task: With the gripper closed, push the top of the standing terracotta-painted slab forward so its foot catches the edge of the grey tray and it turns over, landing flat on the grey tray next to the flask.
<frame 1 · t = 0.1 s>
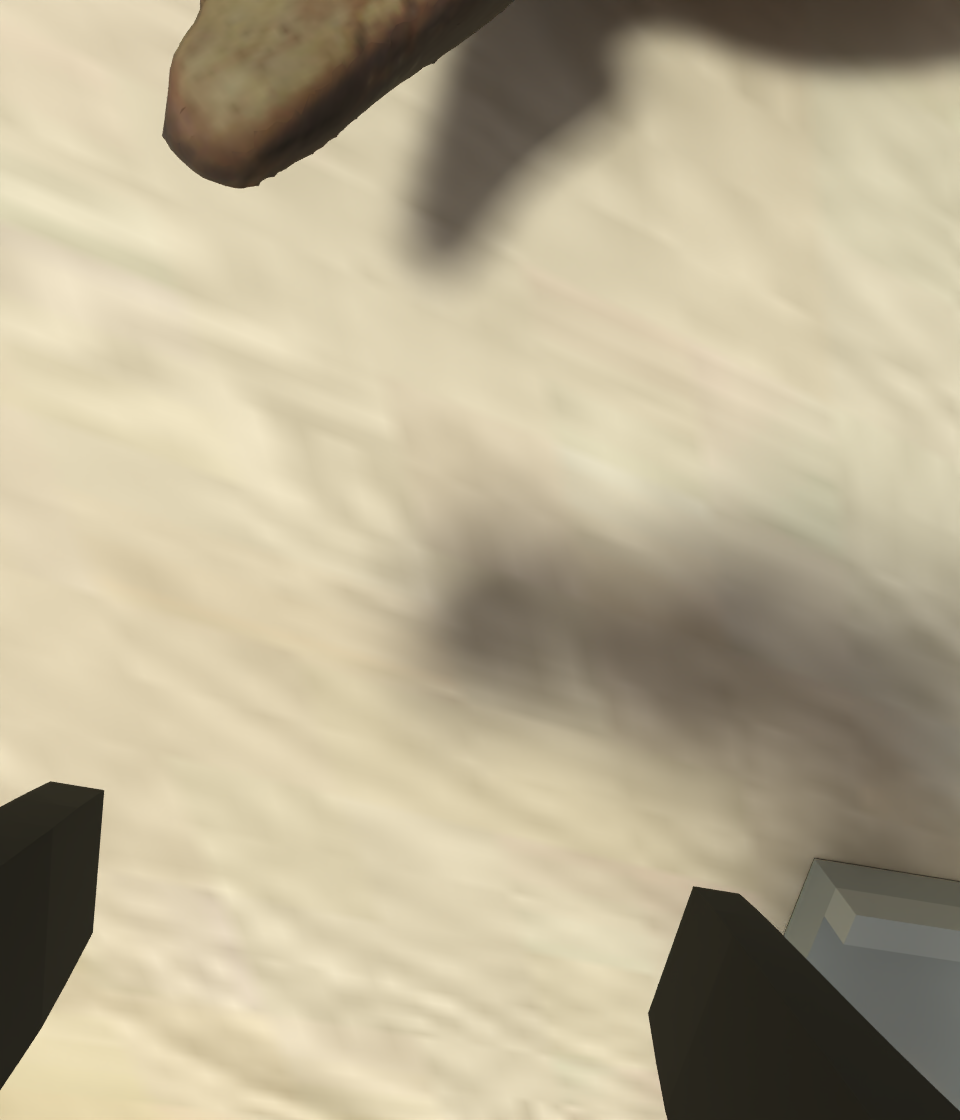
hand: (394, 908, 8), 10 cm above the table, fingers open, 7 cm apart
grey tray: (957, 1027, 22), on the table
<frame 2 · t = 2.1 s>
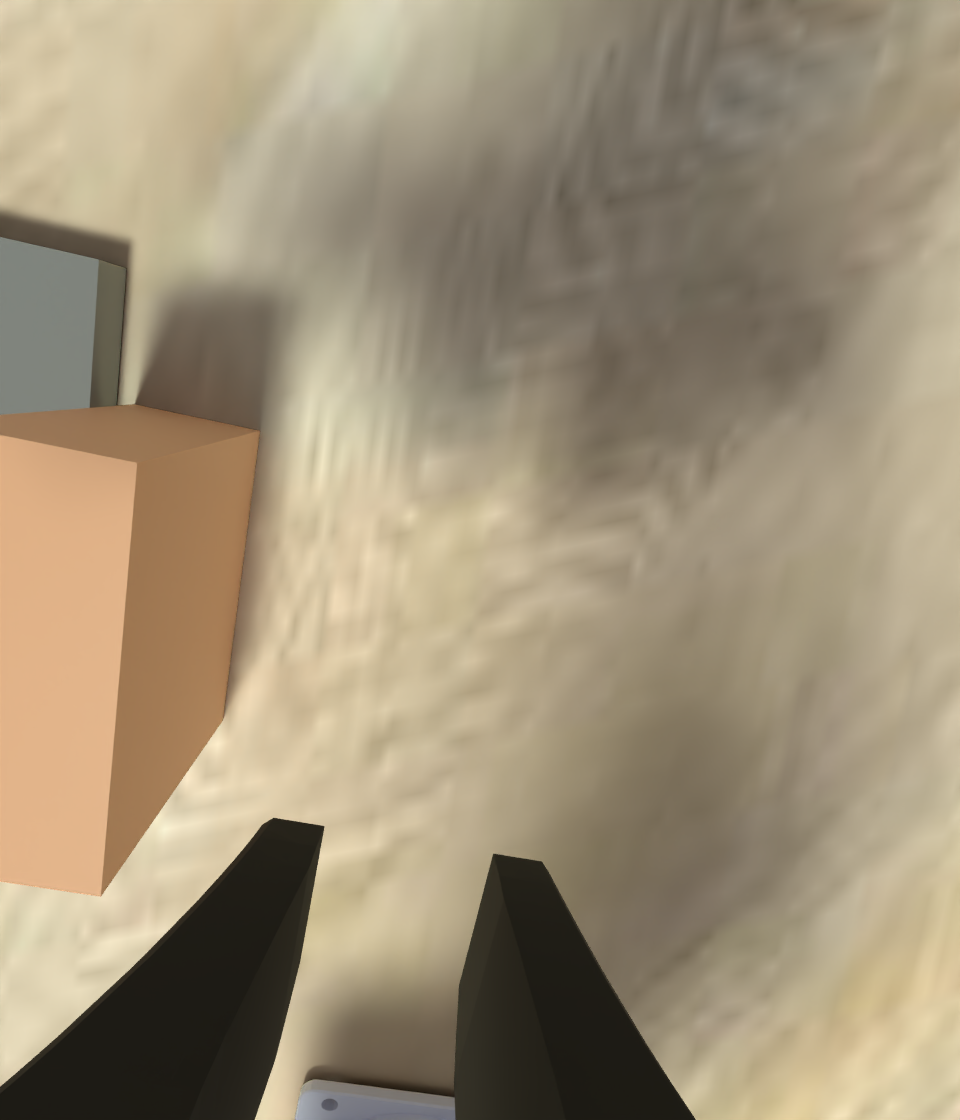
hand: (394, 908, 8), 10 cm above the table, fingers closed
slab: (182, 572, 17), on the table
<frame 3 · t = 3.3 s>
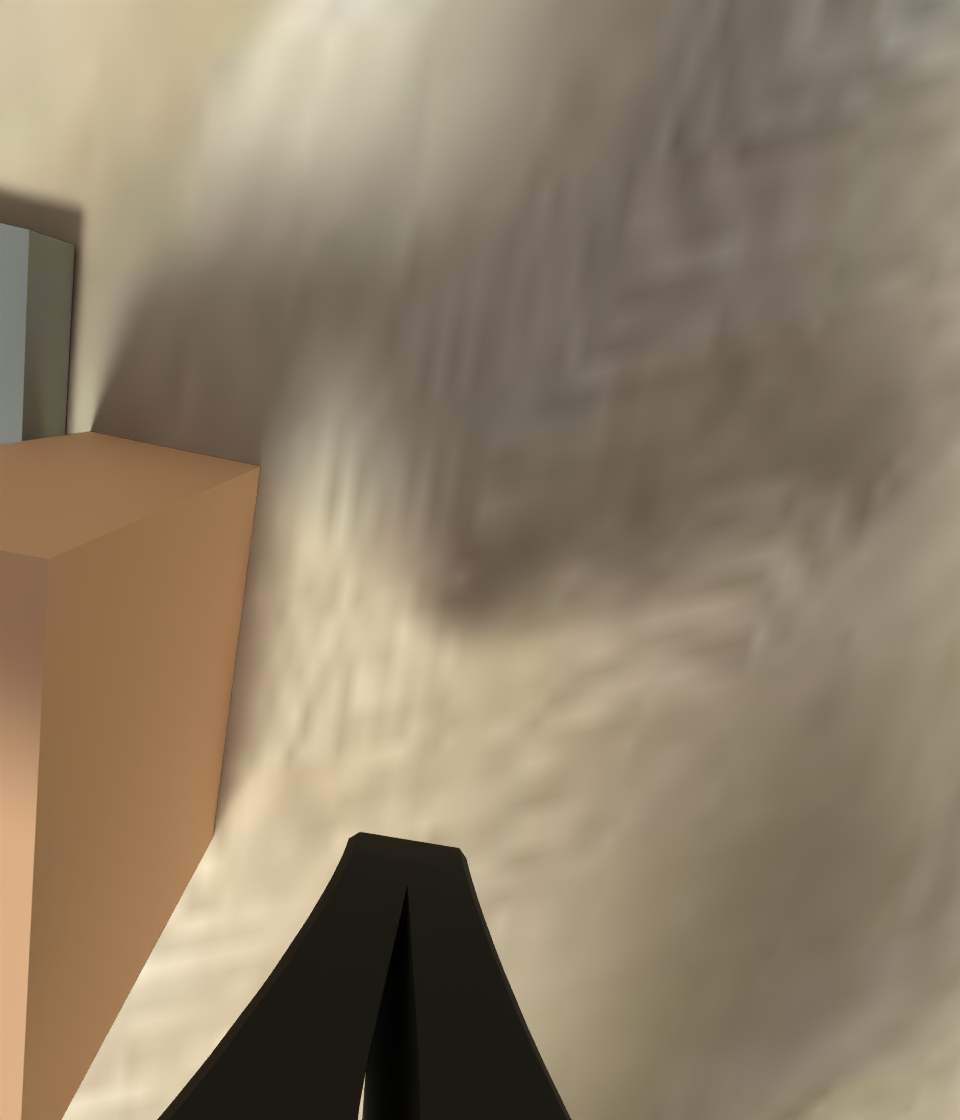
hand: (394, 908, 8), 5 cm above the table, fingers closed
slab: (158, 651, 13), on the table
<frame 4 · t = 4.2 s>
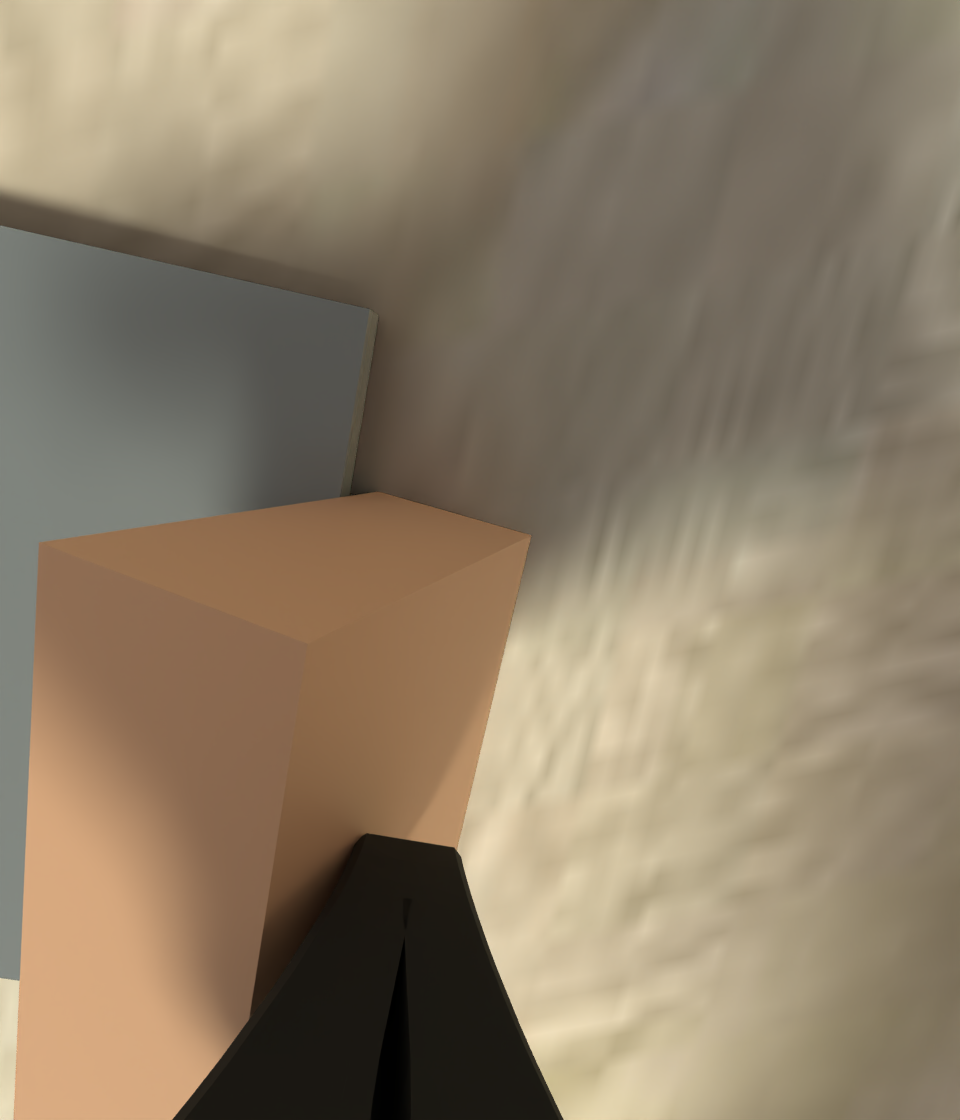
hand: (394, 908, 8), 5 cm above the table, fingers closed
grey tray: (31, 631, 13), on the table
slab: (411, 713, 13), point 1 cm above the table, tilted 23°, touching grey tray, gripper
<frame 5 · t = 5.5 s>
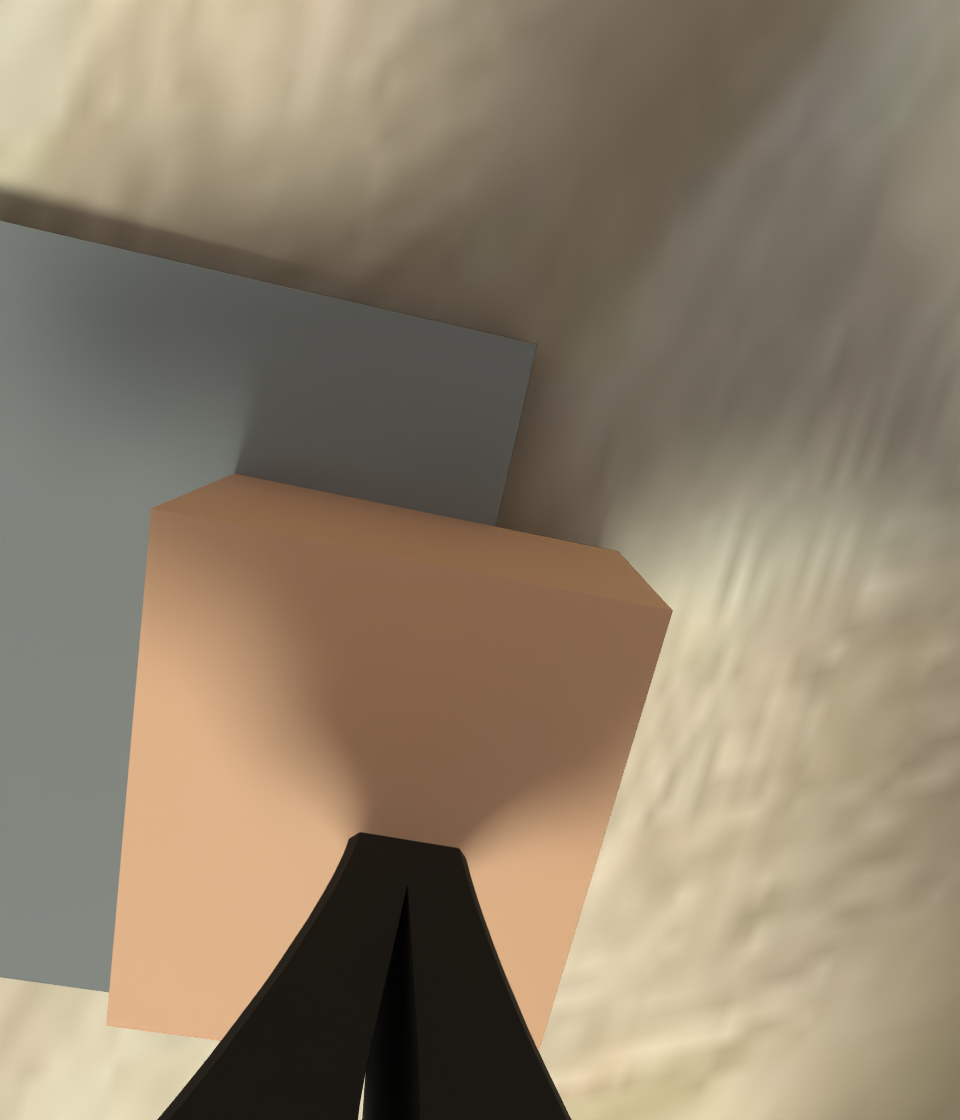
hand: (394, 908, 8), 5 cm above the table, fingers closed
grey tray: (170, 655, 13), on the table
slab: (575, 805, 11), point 3 cm above the table, tilted 90°, touching grey tray
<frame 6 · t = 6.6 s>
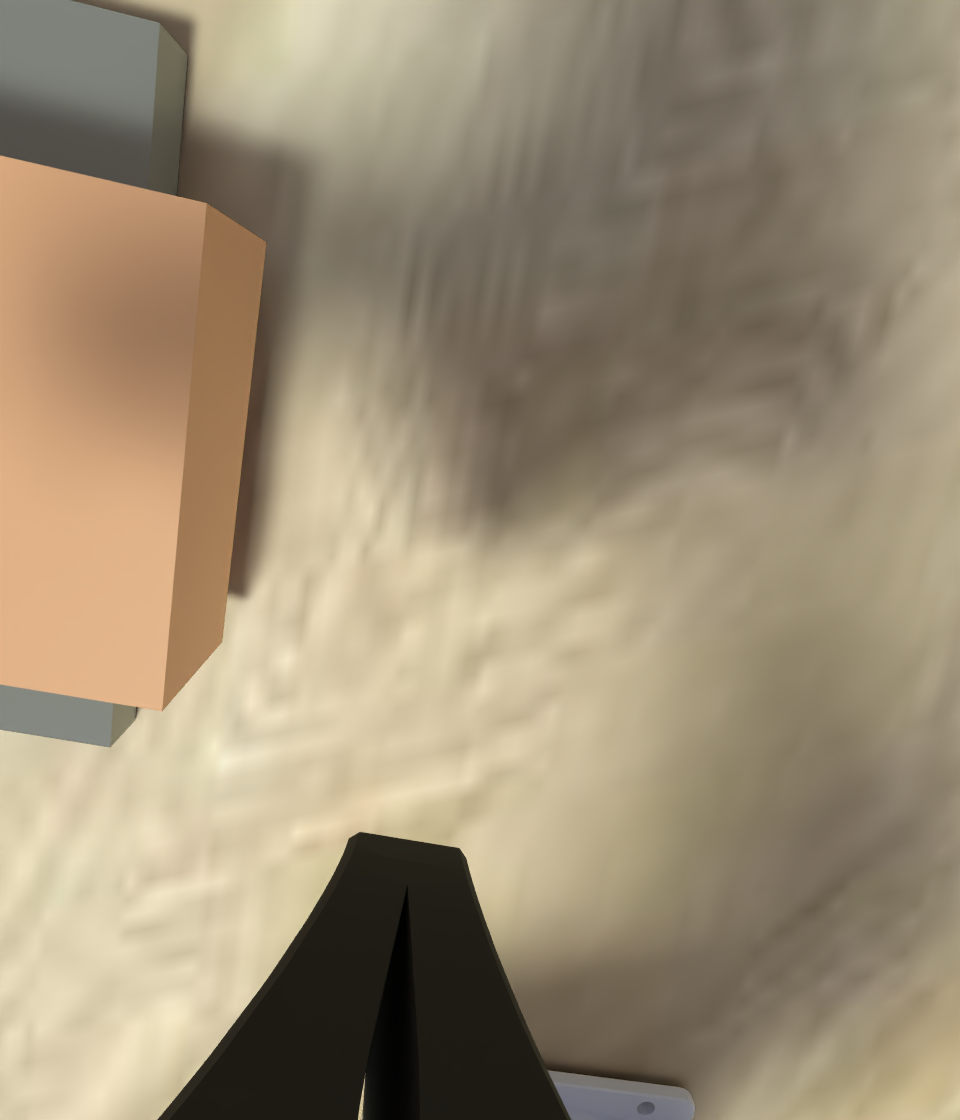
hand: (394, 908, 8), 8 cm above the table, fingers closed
slab: (216, 469, 12), point 3 cm above the table, tilted 90°, touching grey tray
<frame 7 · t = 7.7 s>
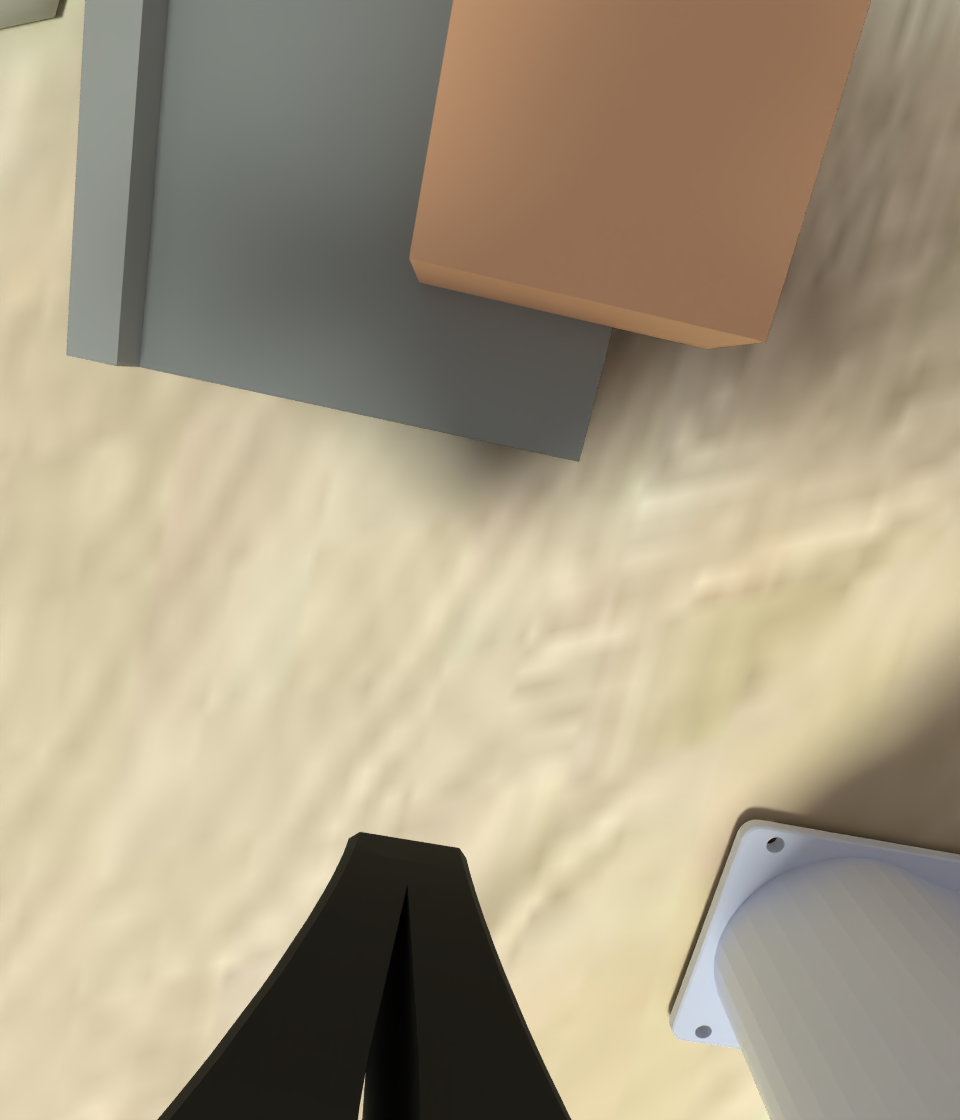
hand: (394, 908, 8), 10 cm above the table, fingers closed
grey tray: (404, 83, 14), on the table
slab: (798, 125, 12), point 3 cm above the table, tilted 90°, touching grey tray
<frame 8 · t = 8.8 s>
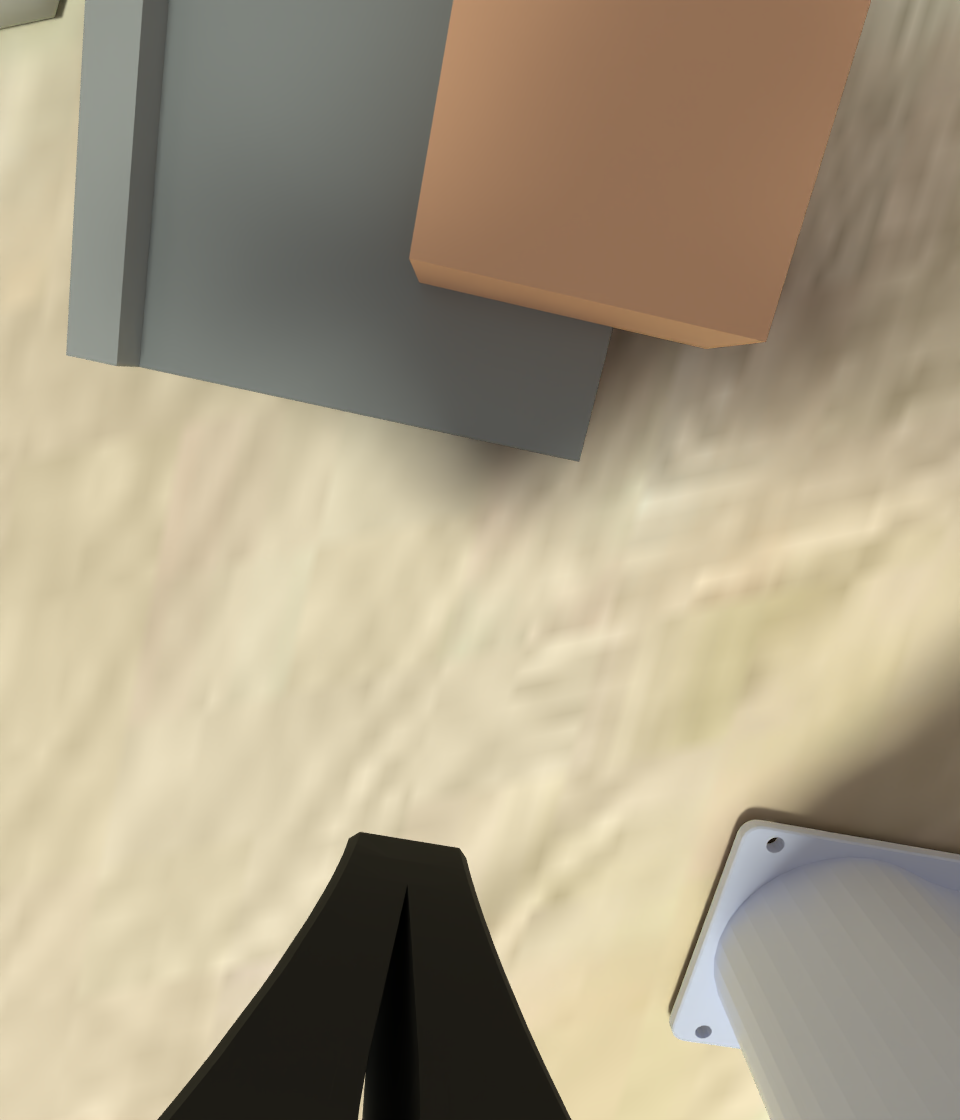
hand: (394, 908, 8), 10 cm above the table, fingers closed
grey tray: (404, 83, 14), on the table
slab: (798, 125, 12), point 3 cm above the table, tilted 90°, touching grey tray
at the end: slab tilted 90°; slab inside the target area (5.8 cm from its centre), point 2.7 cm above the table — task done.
